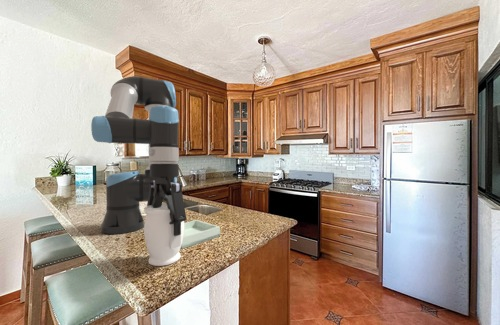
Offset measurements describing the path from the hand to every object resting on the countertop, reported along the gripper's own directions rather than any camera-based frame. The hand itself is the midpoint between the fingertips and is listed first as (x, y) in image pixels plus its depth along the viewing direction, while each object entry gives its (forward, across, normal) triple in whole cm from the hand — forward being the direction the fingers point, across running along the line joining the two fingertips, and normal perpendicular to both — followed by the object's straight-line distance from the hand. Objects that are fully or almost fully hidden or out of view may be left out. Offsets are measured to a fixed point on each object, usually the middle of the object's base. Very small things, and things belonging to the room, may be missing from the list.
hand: (164, 242), depth 61 cm
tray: (+5, -10, +15) cm, 19 cm away
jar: (+5, 0, 0) cm, 5 cm away
